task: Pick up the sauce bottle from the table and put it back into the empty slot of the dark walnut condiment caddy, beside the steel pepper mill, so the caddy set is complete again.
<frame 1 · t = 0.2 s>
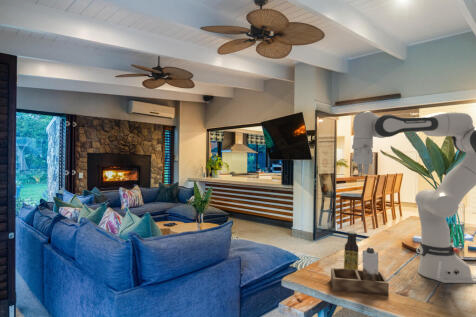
hand: (363, 173, 144), 47 cm above the table, tool pointing down, fingers open, 8 cm apart
condiment caddy: (357, 286, 125), on the table
pepper mill: (370, 287, 124), resting on condiment caddy
sauce bottle: (351, 275, 138), on the table
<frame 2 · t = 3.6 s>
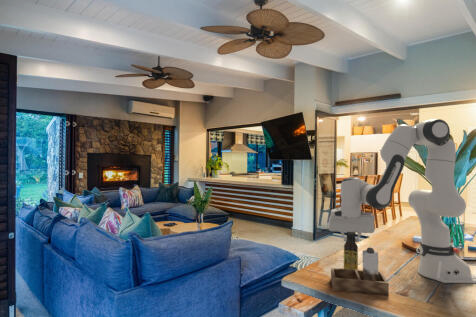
hand: (350, 241, 138), 16 cm above the table, tool pointing down, fingers closed on sauce bottle, 4 cm apart
sauce bottle: (351, 274, 138), on the table, touching gripper
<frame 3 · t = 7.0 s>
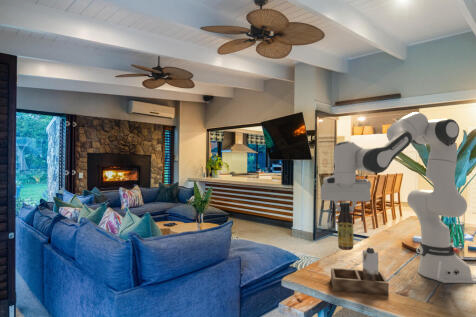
hand: (345, 211, 126), 32 cm above the table, tool pointing down, fingers closed on sauce bottle, 4 cm apart
sauce bottle: (346, 248, 127), point 16 cm above the table, touching gripper
when the fingers open (18 cm above the table, at t = 10.1 s): sauce bottle moves 1 cm, resting on condiment caddy.
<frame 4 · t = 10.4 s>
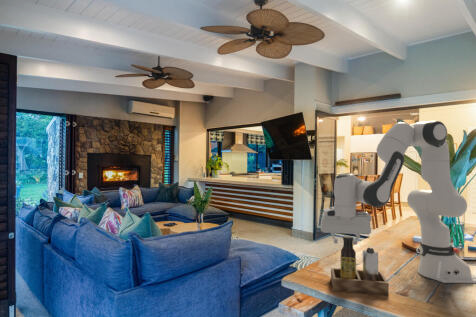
hand: (345, 243, 126), 18 cm above the table, tool pointing down, fingers open, 6 cm apart
sauce bottle: (348, 282, 127), point 1 cm above the table, touching condiment caddy, gripper
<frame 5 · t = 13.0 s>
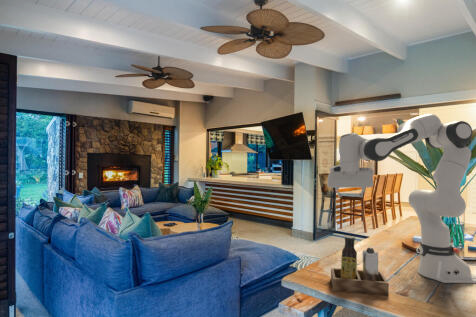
hand: (350, 197, 139), 36 cm above the table, tool pointing down, fingers open, 8 cm apart
sauce bottle: (348, 283, 127), point 1 cm above the table, touching condiment caddy
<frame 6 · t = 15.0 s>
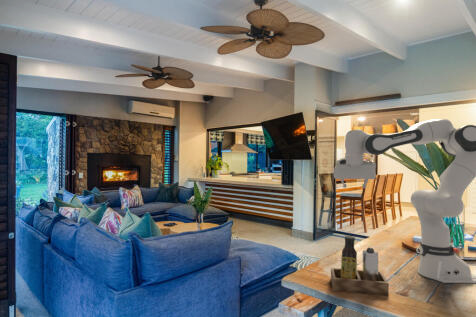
hand: (354, 187, 153), 39 cm above the table, tool pointing down, fingers open, 8 cm apart
nothing on the table moved.
at the end: sauce bottle 1.7 cm from the target spot on the condiment caddy, point 0.8 cm above the condiment caddy's base; sauce bottle tilted 0°; the gripper is holding nothing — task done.
